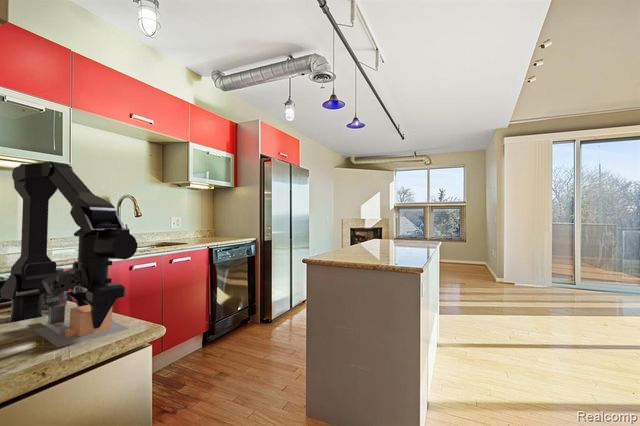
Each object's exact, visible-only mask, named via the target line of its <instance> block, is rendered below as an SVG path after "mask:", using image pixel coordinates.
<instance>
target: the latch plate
mask: <svg viewBox="0 0 640 426" xmlns="http://www.w3.org/2000/svg"><path fill="white" fill-rule="evenodd" d="M69 328H70V321H67V322H64V324H61V325H55V324H49V323H48V320H46V326H44V327H38V328H34V329H33V330H32V331H34V332H36V333H37V334H38V335H40V336H41V337H42V338H44V339H46V340H47V341H49V343H50V344H52V345H54V346H55V347H57V348H62V347H65V346H69V345H73V344H76V343H80V342H83V341H84V342H85V341H87V340H91V339H95V338H99V337H103V336H107V335H111V334H114V333H118V332H122V331H125V330H129V329H130V328H129V327H127V326H125V325H123V324H120V323H118V322H116V321H114V320H112V327H111V329H108V330H104V331H100V332H96V333H92V334H88V335H84V336H78V335H75V336H71V337H67V336H66V335H65V329H69Z"/></svg>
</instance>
